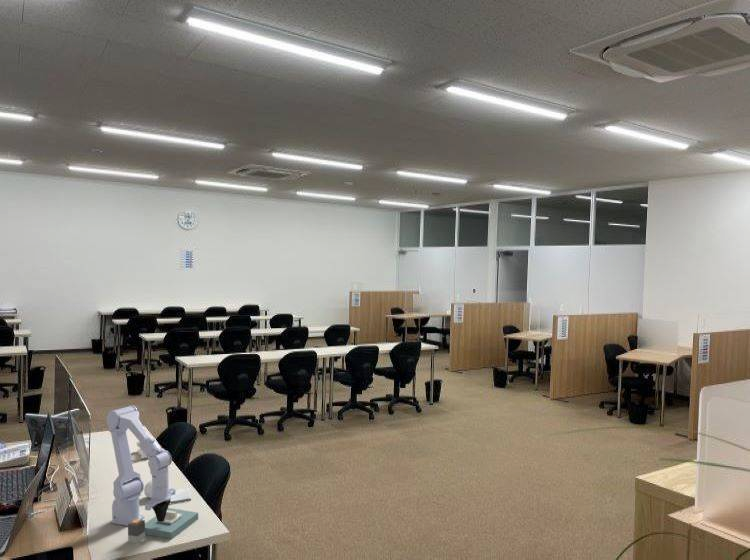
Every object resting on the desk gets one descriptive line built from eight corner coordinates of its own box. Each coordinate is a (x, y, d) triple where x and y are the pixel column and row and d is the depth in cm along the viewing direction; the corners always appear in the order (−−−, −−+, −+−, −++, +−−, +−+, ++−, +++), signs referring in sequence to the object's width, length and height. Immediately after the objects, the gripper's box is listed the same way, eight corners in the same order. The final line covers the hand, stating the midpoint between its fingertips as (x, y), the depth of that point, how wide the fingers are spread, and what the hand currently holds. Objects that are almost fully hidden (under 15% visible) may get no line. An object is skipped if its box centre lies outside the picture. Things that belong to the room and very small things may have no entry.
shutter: (157, 521, 205) (157, 514, 205) (168, 513, 211) (168, 506, 211) (171, 524, 203) (171, 516, 203) (182, 516, 209) (182, 509, 209)
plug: (128, 541, 196) (127, 522, 195) (136, 536, 199) (135, 517, 199) (137, 543, 194) (136, 524, 194) (145, 537, 198) (144, 519, 198)
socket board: (140, 533, 201) (139, 526, 201) (168, 513, 217) (168, 507, 216) (171, 539, 197) (171, 532, 197) (198, 518, 212) (198, 512, 212)
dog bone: (136, 451, 287) (136, 436, 287) (154, 448, 291) (153, 433, 290) (137, 460, 273) (137, 445, 273) (156, 458, 277) (156, 442, 277)
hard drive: (191, 498, 229) (188, 486, 240) (170, 501, 225) (168, 489, 237) (191, 502, 229) (188, 490, 240) (170, 505, 225) (168, 493, 237)
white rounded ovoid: (156, 502, 227) (155, 484, 227) (140, 500, 229) (140, 483, 228) (169, 492, 237) (169, 475, 237) (154, 490, 238) (154, 474, 238)
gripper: (156, 494, 193) (156, 531, 194) (181, 478, 207) (182, 513, 208) (139, 491, 195) (140, 528, 196) (166, 476, 209) (167, 510, 210)
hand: (161, 520), depth 202 cm, fingers closed
